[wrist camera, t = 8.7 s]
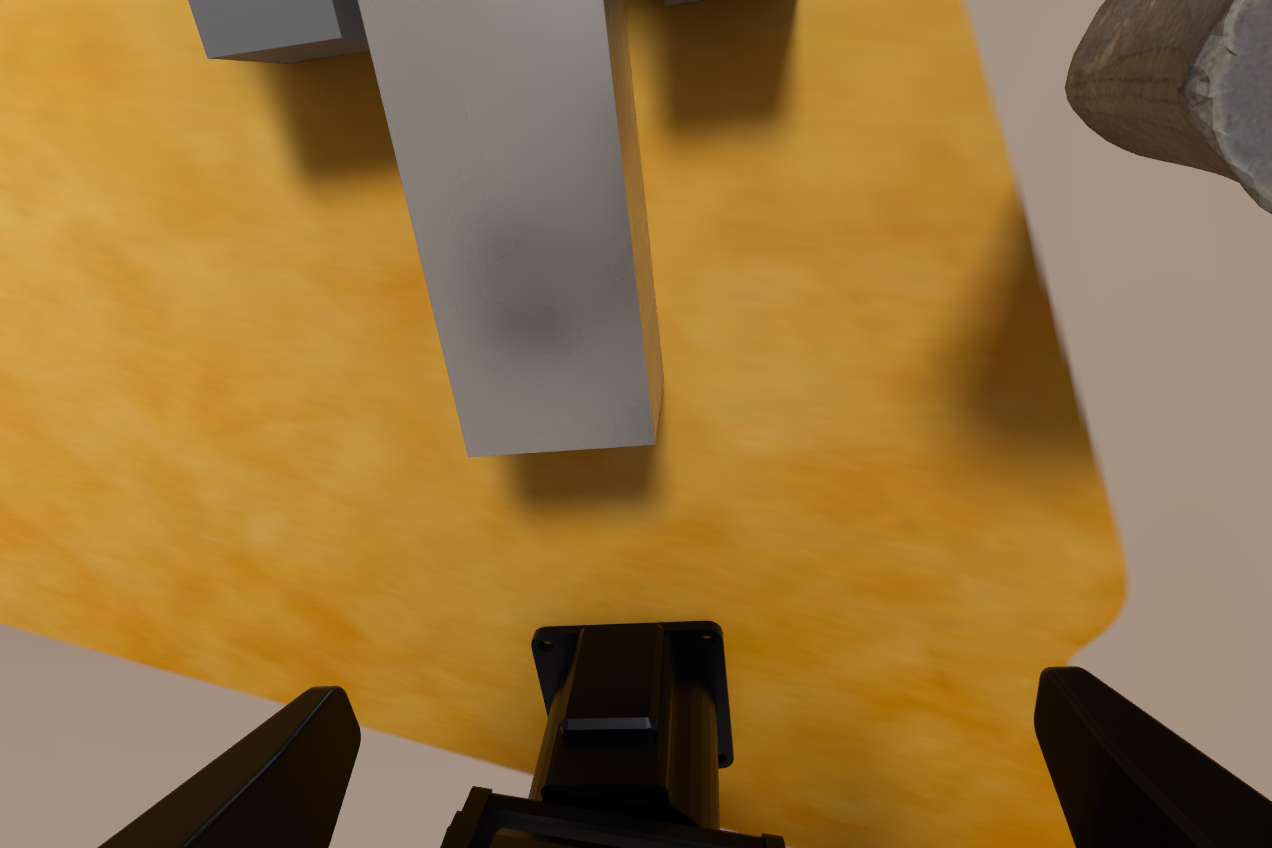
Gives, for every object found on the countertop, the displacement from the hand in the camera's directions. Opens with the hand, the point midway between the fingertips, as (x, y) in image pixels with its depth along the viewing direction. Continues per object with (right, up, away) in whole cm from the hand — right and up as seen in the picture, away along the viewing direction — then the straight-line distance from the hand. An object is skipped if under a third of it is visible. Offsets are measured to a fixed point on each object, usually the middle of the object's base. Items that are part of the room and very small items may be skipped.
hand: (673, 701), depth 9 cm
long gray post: (-3, +10, +9) cm, 14 cm away
